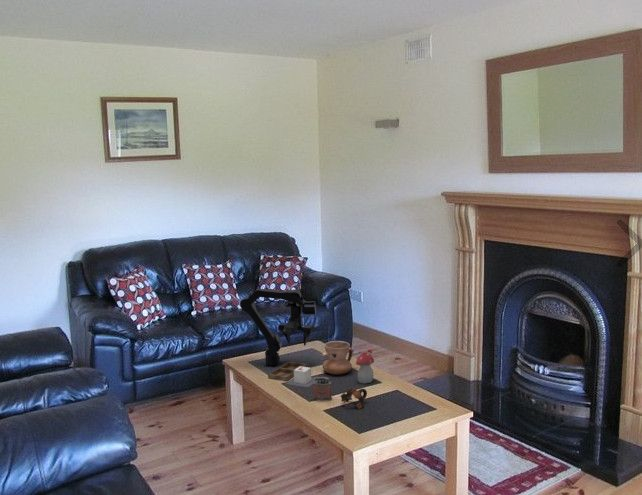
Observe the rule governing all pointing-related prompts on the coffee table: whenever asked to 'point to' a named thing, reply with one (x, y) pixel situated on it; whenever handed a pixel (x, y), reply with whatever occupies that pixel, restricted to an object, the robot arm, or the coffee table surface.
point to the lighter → (322, 389)
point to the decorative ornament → (365, 367)
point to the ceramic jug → (337, 357)
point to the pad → (302, 384)
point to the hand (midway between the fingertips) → (296, 344)
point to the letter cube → (302, 375)
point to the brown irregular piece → (356, 394)
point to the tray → (285, 371)
